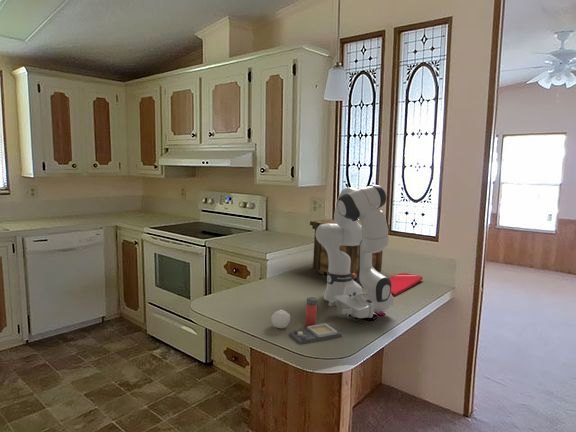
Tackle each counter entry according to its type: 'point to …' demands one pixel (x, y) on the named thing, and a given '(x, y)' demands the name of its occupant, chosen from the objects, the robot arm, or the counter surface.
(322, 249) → the crate
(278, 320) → the white swirled ball
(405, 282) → the red flat block
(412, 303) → the counter surface
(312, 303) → the red cylinder with cap
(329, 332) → the control panel
